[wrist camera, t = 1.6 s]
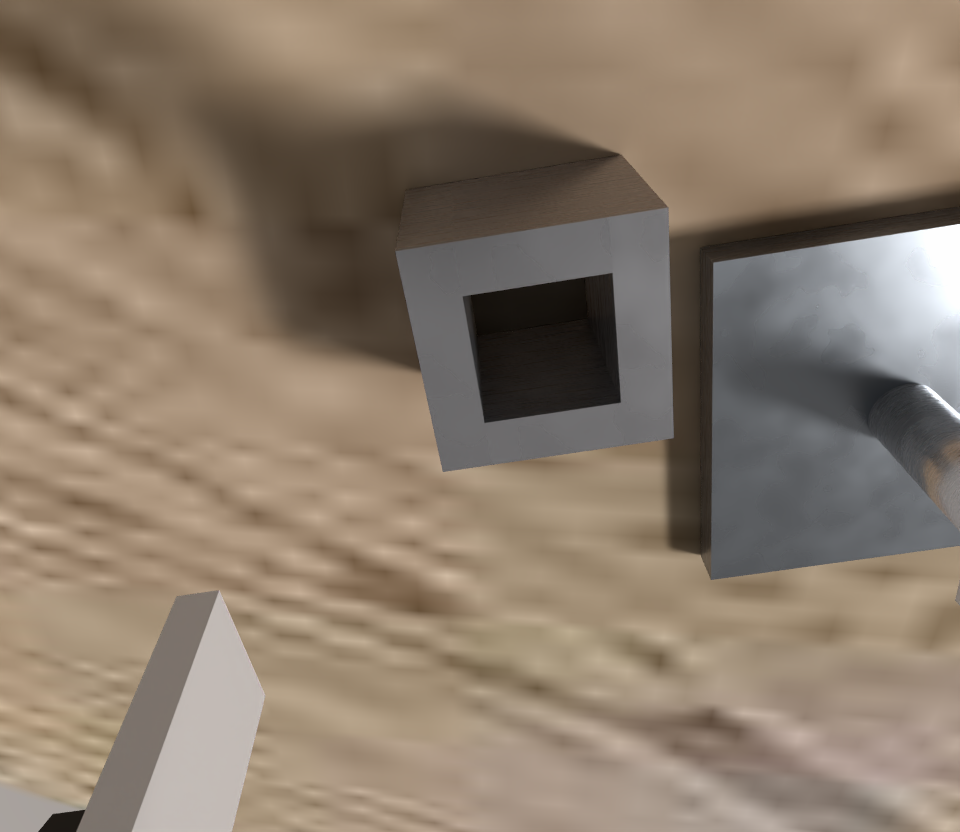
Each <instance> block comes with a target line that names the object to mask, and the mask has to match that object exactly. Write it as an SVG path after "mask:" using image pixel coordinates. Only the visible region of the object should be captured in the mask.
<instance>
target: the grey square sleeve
mask: <svg viewBox="0 0 960 832" xmlns="http://www.w3.org/2000/svg"><path fill="white" fill-rule="evenodd" d="M395 253H396V257H397V262H398V267H399V271H400V276H401V280H402V285H403V290H404V294H405V299H406V303H407V308H408V313H409V317H410V322H411V327H412V331H413V336H414V340H415V345H416V350H417V354H418V359H419V364H420V368H421V373H422V377H423V382H424V387H425V391H426V396H427V401H428V405H429V410H430V414H431V419H432V424H433V428H434V433H435V438H436V442H437V447H438V451H439V456H440V461H441V465H442V470H443V472H446V471H453V470H459V469H466V468H473V467H480V466H487V465H494V464H500V463H507V462H514V461H521V460H528V459H535V458H541V457H548V456H555V455H562V454H569V453H576V452H582V451H589V450H596V449H603V448H610V447H617V446H623V445H630V444H637V443H644V442H651V441H658V440H664V439H671V438H674V427H673V385H672V342H671V300H670V258H669V215H668V207H667V205H666V204H665V203H664V202H663V201H662V200H661V199H660V198H659V196H658V195H657V194H656V193H655V192H654V191H653V190H652V189H651V187H650V186H649V185H648V184H647V183H646V182H645V181H644V180H643V178H642V177H641V176H640V175H639V174H638V173H637V172H636V170H635V169H634V168H633V167H632V166H631V165H630V164H629V163H628V161H627V160H626V159H625V158H624V157H623V156H622V155H617V156H611V157H605V158H599V159H593V160H587V161H581V162H574V163H568V164H562V165H556V166H550V167H544V168H538V169H532V170H526V171H519V172H513V173H507V174H501V175H495V176H489V177H483V178H477V179H471V180H464V181H458V182H452V183H446V184H440V185H434V186H428V187H422V188H416V189H409V190H406V192H405V198H404V204H403V209H402V215H401V221H400V227H399V232H398V238H397V244H396V249H395ZM583 277H585V288H586V299H587V311H588V319H584V320H577V321H571V322H564V323H558V324H551V325H545V326H538V327H532V328H525V329H519V330H512V331H506V332H499V333H493V334H486V335H480V336H477V330H476V324H475V318H474V312H473V306H472V300H471V295H474V294H481V293H487V292H494V291H500V290H506V289H513V288H519V287H525V286H532V285H538V284H545V283H551V282H557V281H564V280H570V279H577V278H583Z"/></svg>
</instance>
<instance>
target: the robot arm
mask: <svg viewBox="0 0 960 832" xmlns="http://www.w3.org/2000/svg"><path fill="white" fill-rule="evenodd" d="M955 601H956V602H957V603H958V604H959V606H960V581H959V586H958V590H957V595H956V599H955ZM264 699H265V694H264V691H263V689H262V687H261V684H260V682H259V680H258V678H257V675H256V673H255V671H254V668H253V666H252V664H251V662H250V659H249V657H248V655H247V652H246V650H245V648H244V646H243V643H242V641H241V639H240V636H239V634H238V632H237V630H236V627H235V625H234V623H233V620H232V618H231V616H230V614H229V611H228V609H227V607H226V604H225V602H224V600H223V598H222V595H221V593H220V591H219V590H218V591H211V592H204V593H197V594H190V595H183V596H177V597H176V599H175V602H174V604H173V606H172V609H171V611H170V613H169V616H168V618H167V620H166V623H165V625H164V627H163V630H162V632H161V634H160V637H159V639H158V641H157V644H156V646H155V648H154V651H153V653H152V655H151V658H150V660H149V662H148V665H147V667H146V670H145V672H144V674H143V677H142V679H141V681H140V684H139V686H138V688H137V691H136V693H135V695H134V698H133V700H132V702H131V705H130V707H129V709H128V712H127V714H126V716H125V719H124V721H123V723H122V726H121V728H120V730H119V733H118V735H117V737H116V740H115V742H114V745H113V747H112V749H111V752H110V754H109V756H108V759H107V761H106V763H105V766H104V768H103V770H102V773H101V775H100V777H99V780H98V782H97V784H96V787H95V789H94V791H93V794H92V796H91V798H90V801H89V803H88V805H87V808H86V810H81V811H73V812H65V813H59V814H53V815H52V816H51V817H50V818H49V820H48V821H47V822H46V823H45V824H44V826H43V827H42V828H41V829H40V830H39V832H232V829H233V825H234V821H235V816H236V812H237V808H238V804H239V800H240V796H241V792H242V788H243V784H244V780H245V776H246V772H247V768H248V764H249V760H250V756H251V752H252V748H253V743H254V739H255V735H256V731H257V727H258V723H259V719H260V715H261V711H262V707H263V703H264Z"/></svg>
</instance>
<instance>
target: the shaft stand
mask: <svg viewBox="0 0 960 832" xmlns="http://www.w3.org/2000/svg"><path fill="white" fill-rule="evenodd" d="M700 369H701V557H702V560H703V562H704V564H705V567H706V569H707V571H708V574H709V576H710V579H711V580H714V579H721V578H728V577H735V576H743V575H750V574H757V573H765V572H772V571H779V570H786V569H794V568H801V567H808V566H815V565H823V564H830V563H837V562H844V561H852V560H859V559H866V558H874V557H881V556H888V555H895V554H903V553H910V552H917V551H924V550H932V549H939V548H946V547H954V546H960V207H955V208H949V209H942V210H936V211H930V212H923V213H917V214H910V215H904V216H898V217H891V218H885V219H879V220H872V221H866V222H860V223H853V224H847V225H841V226H834V227H828V228H821V229H815V230H809V231H802V232H796V233H790V234H783V235H777V236H771V237H764V238H758V239H752V240H745V241H739V242H733V243H726V244H720V245H713V246H707V247H701V248H700Z"/></svg>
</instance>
